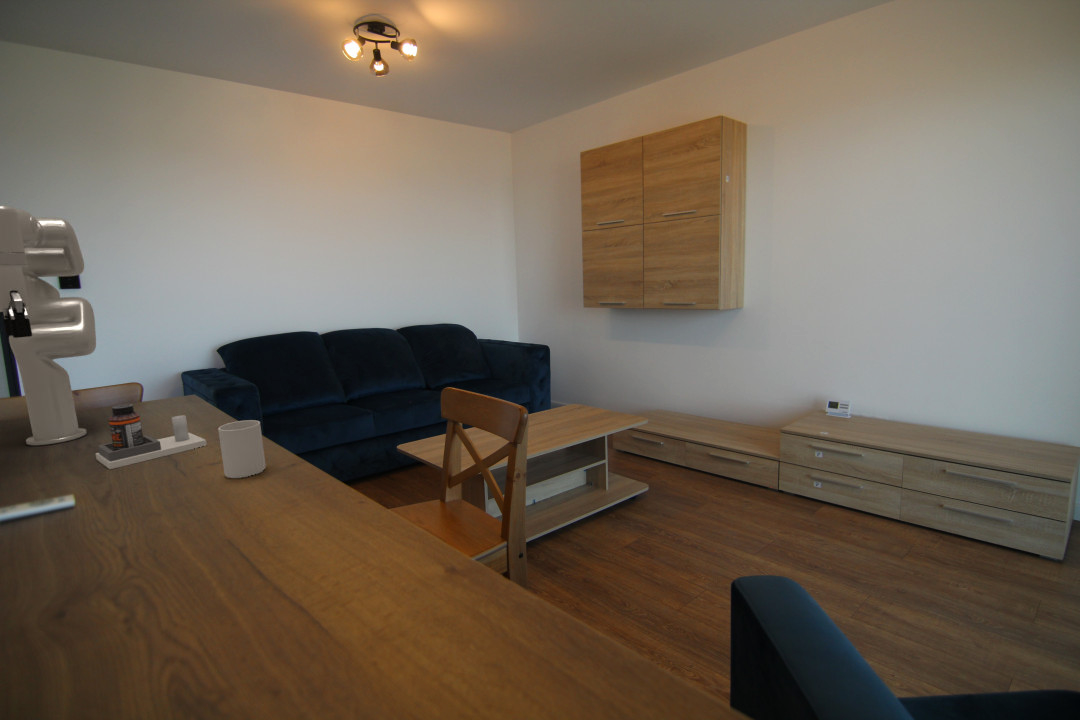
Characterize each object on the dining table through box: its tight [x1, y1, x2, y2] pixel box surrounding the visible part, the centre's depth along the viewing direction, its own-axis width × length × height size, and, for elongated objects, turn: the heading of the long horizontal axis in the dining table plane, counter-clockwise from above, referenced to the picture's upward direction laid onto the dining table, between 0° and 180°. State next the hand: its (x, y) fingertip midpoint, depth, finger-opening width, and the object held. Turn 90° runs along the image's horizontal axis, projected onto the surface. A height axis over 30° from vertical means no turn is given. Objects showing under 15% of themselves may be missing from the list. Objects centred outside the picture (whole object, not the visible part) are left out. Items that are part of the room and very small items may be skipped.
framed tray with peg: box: [95, 414, 207, 470], centre depth 135 cm, size 12×20×8 cm, turn 140°
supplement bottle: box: [108, 403, 144, 451], centre depth 131 cm, size 6×6×11 cm
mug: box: [217, 419, 266, 479], centre depth 119 cm, size 12×8×10 cm, turn 48°
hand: (19, 336), depth 128 cm, fingers open, 9 cm apart
